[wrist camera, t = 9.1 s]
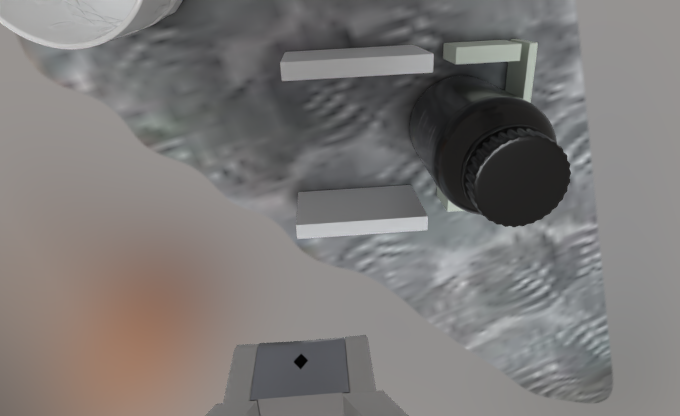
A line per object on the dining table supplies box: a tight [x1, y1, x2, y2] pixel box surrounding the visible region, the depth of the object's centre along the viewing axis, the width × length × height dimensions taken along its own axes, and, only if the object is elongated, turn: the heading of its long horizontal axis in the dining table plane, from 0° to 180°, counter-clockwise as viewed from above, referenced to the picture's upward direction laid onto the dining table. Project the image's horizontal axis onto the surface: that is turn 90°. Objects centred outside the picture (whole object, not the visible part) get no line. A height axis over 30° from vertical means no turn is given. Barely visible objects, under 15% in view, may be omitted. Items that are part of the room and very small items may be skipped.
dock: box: [437, 39, 538, 212], centre depth 31 cm, size 11×5×3 cm, turn 3°
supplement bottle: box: [410, 76, 571, 227], centre depth 27 cm, size 7×7×12 cm
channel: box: [280, 45, 434, 239], centre depth 30 cm, size 11×8×6 cm
